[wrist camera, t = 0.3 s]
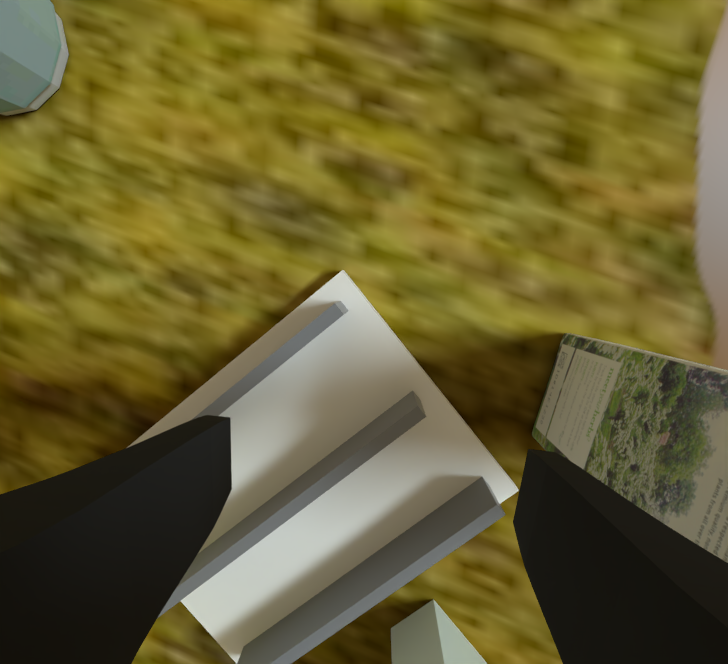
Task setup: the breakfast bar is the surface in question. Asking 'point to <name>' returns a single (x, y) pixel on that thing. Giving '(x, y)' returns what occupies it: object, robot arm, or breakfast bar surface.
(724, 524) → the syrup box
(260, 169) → the breakfast bar surface
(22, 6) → the disposable coffee cup
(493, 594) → the breakfast bar surface
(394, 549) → the dish rack
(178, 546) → the robot arm
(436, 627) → the white rectangular block
